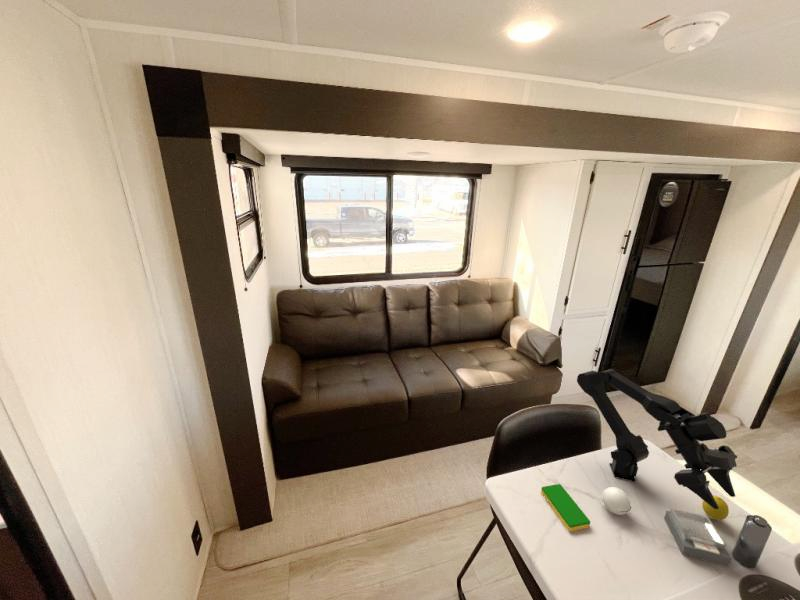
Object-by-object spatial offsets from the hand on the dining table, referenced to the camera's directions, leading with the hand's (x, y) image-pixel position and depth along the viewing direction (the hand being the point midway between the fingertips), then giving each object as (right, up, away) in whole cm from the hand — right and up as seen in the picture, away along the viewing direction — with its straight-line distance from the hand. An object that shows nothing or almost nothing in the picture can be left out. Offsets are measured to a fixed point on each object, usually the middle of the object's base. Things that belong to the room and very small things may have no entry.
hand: (725, 502), depth 87 cm
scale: (-6, -13, +3) cm, 14 cm away
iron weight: (+3, -14, -2) cm, 14 cm away
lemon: (+6, -11, +9) cm, 15 cm away
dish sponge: (-38, -10, +13) cm, 41 cm away
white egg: (-21, -10, +12) cm, 27 cm away
